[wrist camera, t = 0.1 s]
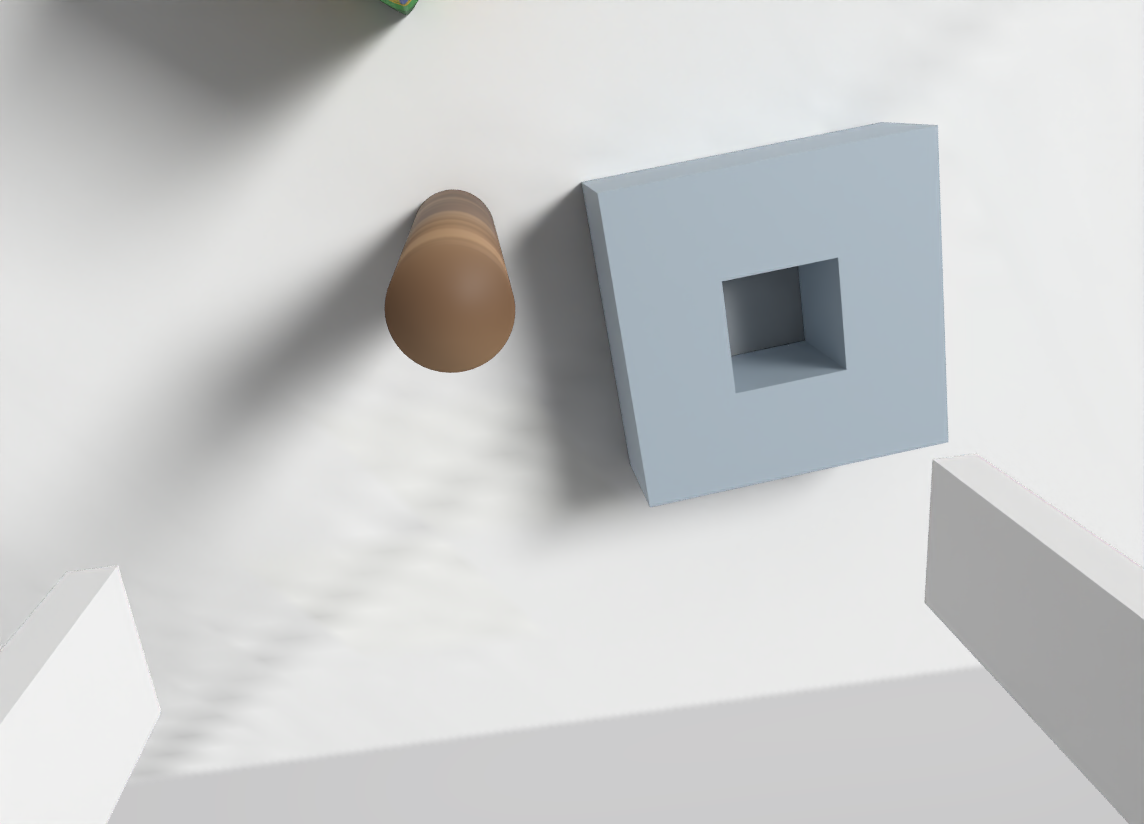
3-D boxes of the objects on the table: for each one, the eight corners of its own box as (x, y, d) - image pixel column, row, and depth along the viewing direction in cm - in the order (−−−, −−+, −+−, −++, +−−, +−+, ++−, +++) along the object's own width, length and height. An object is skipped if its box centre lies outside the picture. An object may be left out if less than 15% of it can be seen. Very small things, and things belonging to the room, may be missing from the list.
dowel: (404, 198, 39) (369, 259, 24) (485, 182, 39) (500, 233, 24) (424, 278, 40) (402, 384, 25) (502, 262, 40) (526, 358, 25)
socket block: (581, 182, 40) (597, 193, 35) (882, 122, 40) (937, 125, 36) (630, 464, 44) (649, 507, 40) (897, 406, 45) (948, 442, 40)
